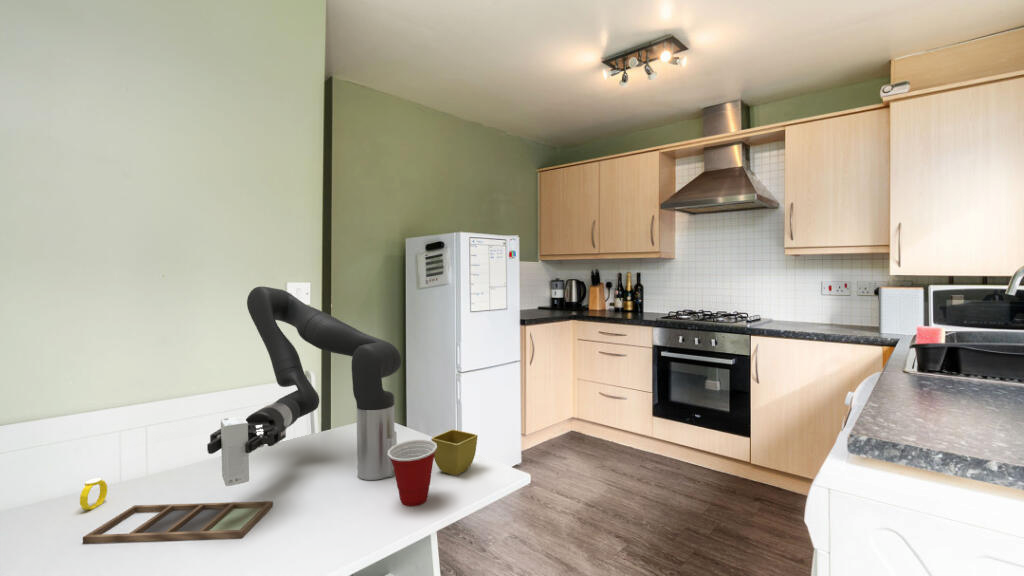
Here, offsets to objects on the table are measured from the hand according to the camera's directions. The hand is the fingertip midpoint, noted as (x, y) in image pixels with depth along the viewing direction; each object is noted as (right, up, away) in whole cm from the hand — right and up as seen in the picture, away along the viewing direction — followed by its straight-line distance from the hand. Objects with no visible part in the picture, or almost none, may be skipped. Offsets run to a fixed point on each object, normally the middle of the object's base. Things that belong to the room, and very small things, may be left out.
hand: (228, 448), depth 92 cm
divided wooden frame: (-10, -16, +2) cm, 19 cm away
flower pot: (+42, -15, +27) cm, 52 cm away
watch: (-36, -16, +10) cm, 40 cm away
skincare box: (0, -7, +2) cm, 8 cm away
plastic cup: (+34, -16, +11) cm, 39 cm away
